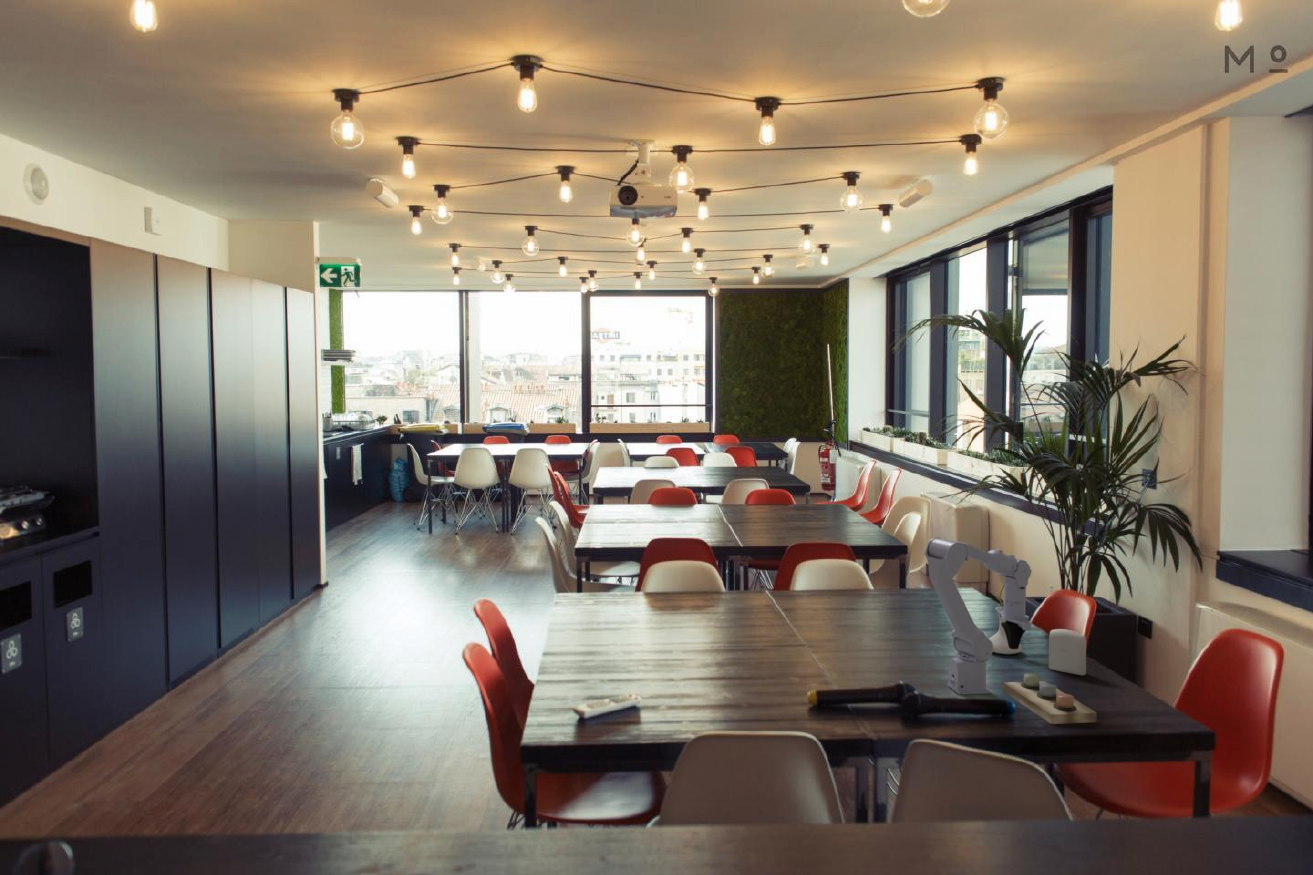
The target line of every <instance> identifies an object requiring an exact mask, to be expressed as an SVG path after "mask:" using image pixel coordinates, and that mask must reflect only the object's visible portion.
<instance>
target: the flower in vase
mask: <svg viewBox="0 0 1313 875" xmlns="http://www.w3.org/2000/svg"><path fill="white" fill-rule="evenodd" d="M997 576H998V580H999V581H1000V582H1001V584H1002V587H1001V589H1000V592H999V595H998V594H997V595H996V598H995V599H997V600H998V601H999V602H1000V604H1001V606H997V607H995V610H996V612H997V613H998V610H1004V601H1002V598H1001V596H1002V592H1003V591H1004V577H1003V576H1002V575H1001V574H999V573H997ZM998 619H999V627H998V631H997V632H996V633H995V634H993V635H992V636H991V637H988V639H990V640H991V642H992V644H993V652H992V653H996V654H1001V655H1013V654H1014V655H1015V654H1018V653H1021V652H1022V650H1023V647H1022V644H1021V643H1020V644H1019V647H1018V649H1010V648H1009V646H1008V642H1007V637H1006V634H1005V631H1004V629H1003V627H1002V625H1001V623H1002V622H1006V621H1007V620H1004V619H1003V618H1002V617H998Z"/></svg>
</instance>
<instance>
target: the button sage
mask: <svg viewBox="0 0 1313 875" xmlns="http://www.w3.org/2000/svg"><path fill="white" fill-rule="evenodd" d="M1040 679H1041V676H1040V675H1039V674H1036V673H1031V672H1027V673H1024V674H1023V682H1024V684H1025V685H1027V686H1031V687H1038V686H1040V681H1041V680H1040Z"/></svg>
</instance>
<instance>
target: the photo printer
mask: <svg viewBox="0 0 1313 875" xmlns="http://www.w3.org/2000/svg"><path fill="white" fill-rule="evenodd" d="M1048 669H1049V670H1053V671H1058V672H1062V673H1068V674H1073V675H1079V676H1085V675H1086V673H1087V672H1086V671H1087V637H1086V635H1085V634H1083V633H1080V632H1077V631H1075V630H1071V629H1067V628H1066V629H1065V628H1055V629H1051V630H1050V632H1049V636H1048Z"/></svg>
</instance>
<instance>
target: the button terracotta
mask: <svg viewBox="0 0 1313 875" xmlns="http://www.w3.org/2000/svg"><path fill="white" fill-rule="evenodd" d="M1064 693H1065V692H1064ZM1064 693H1059V694H1057V697H1056V705H1057V706H1059V707H1062V708H1073V707H1074V699H1075V697H1074V695H1072V694H1069V693H1065V694H1064Z"/></svg>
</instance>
